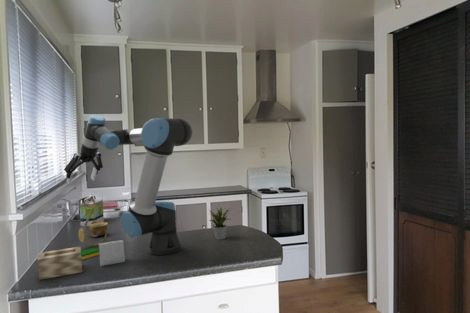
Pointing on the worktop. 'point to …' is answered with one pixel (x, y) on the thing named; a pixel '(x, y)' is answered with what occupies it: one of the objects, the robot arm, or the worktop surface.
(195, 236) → the worktop surface
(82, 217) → the tea box
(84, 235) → the wall sconce
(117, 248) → the grey flat block
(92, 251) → the dish sponge
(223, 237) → the house plant
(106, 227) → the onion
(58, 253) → the camouflage slotted box
